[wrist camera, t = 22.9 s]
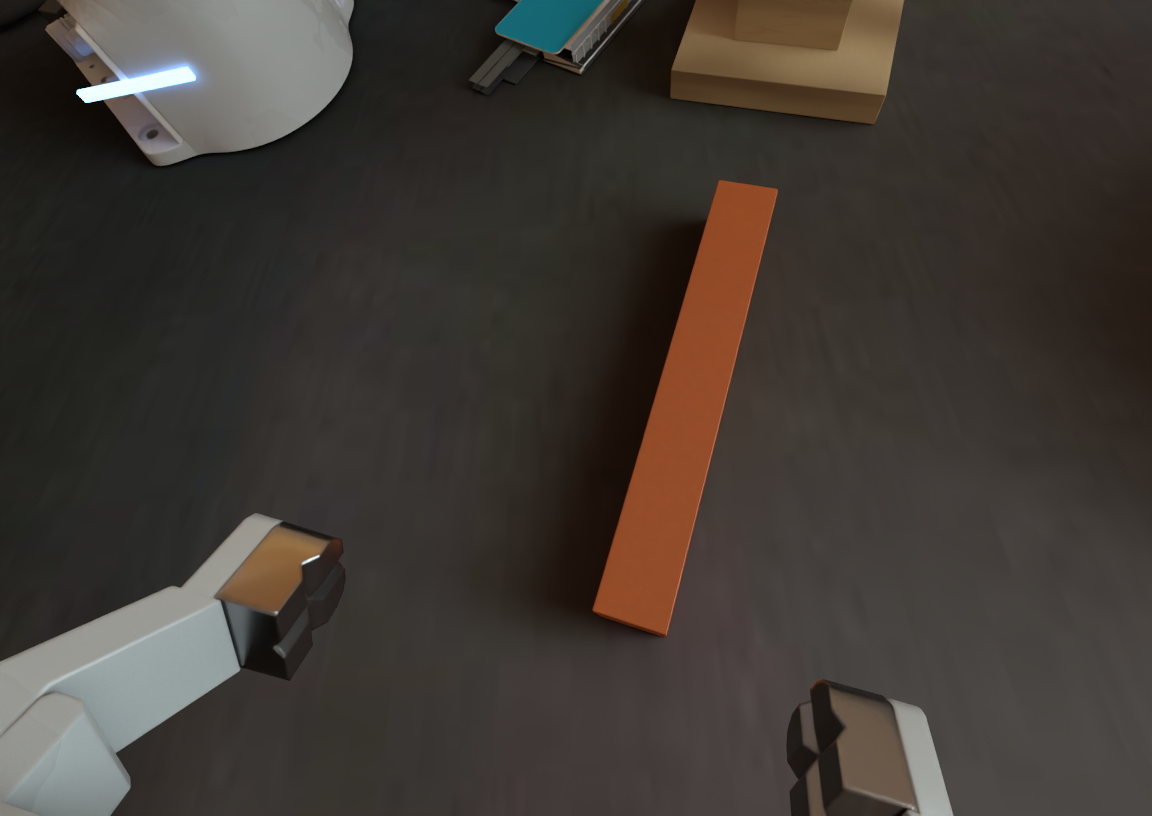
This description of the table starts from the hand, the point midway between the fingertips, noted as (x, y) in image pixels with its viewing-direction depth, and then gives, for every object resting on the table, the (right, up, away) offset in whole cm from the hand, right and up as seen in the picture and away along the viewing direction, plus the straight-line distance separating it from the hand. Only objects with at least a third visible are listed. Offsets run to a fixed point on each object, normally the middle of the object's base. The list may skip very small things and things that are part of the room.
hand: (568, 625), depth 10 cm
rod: (+6, +4, +20) cm, 21 cm away
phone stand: (-1, +33, +33) cm, 46 cm away
